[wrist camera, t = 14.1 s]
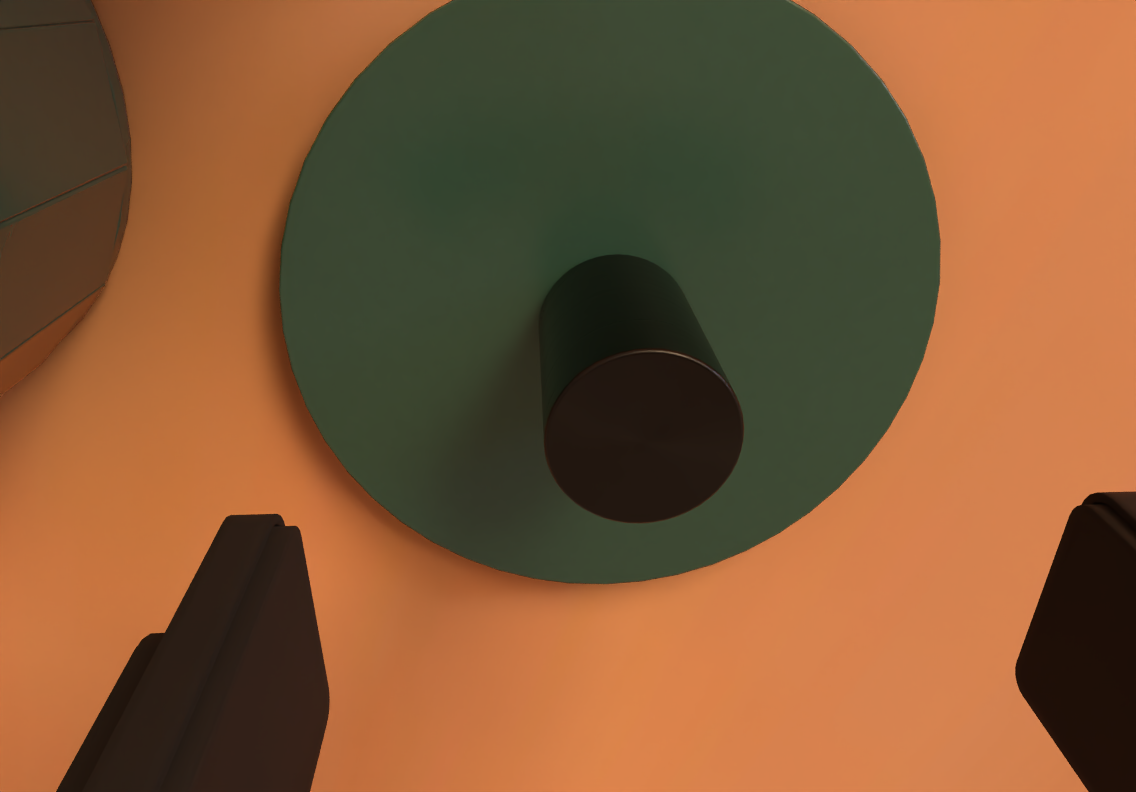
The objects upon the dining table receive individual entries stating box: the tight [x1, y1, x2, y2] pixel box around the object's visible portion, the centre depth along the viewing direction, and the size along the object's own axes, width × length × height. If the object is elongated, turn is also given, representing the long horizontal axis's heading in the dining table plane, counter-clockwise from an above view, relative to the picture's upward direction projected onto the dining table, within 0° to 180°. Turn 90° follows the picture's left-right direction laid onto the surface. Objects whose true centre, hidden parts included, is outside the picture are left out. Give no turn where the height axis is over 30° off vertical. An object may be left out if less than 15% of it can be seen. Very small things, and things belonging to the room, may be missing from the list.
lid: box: [279, 0, 940, 584], centre depth 18 cm, size 16×16×7 cm
